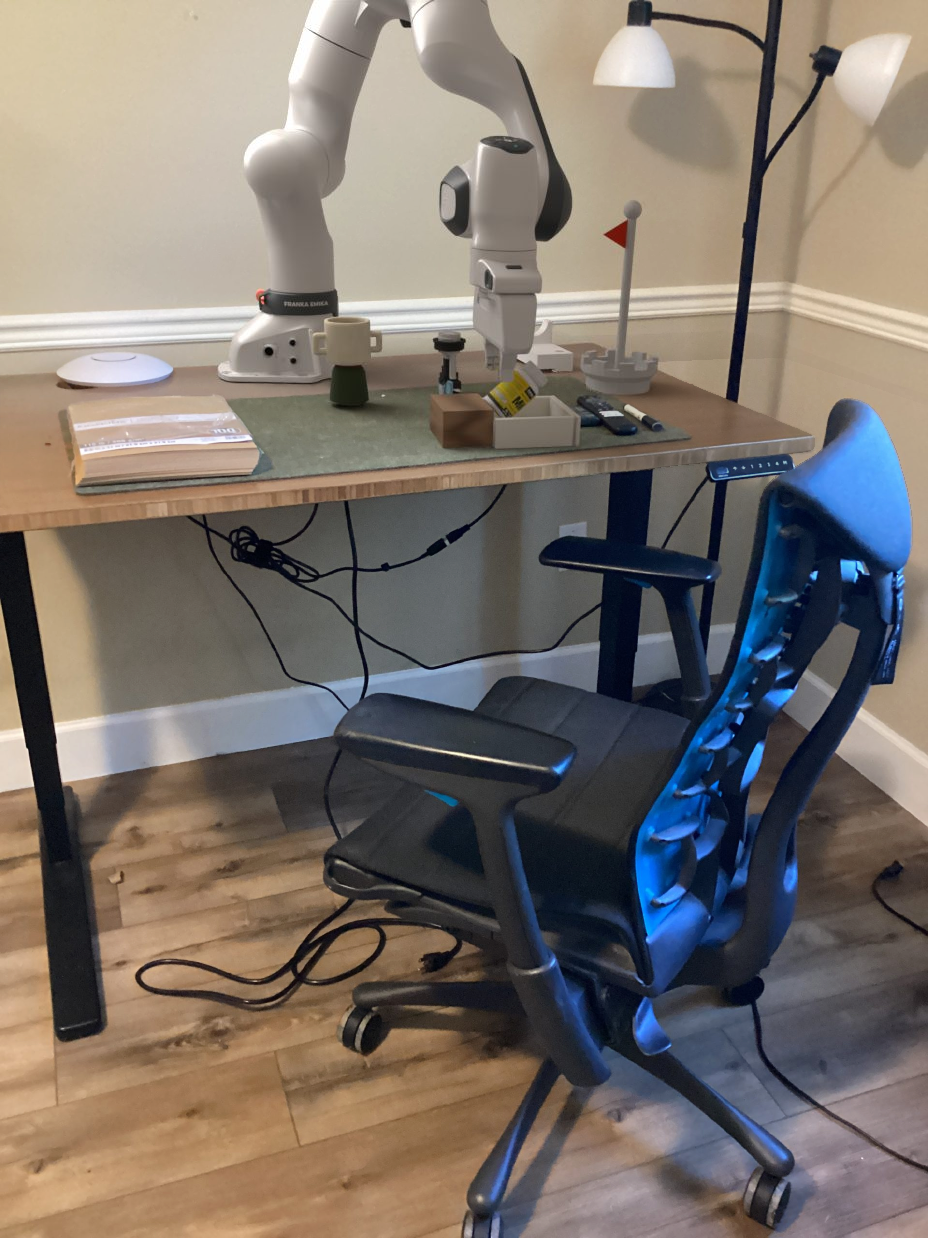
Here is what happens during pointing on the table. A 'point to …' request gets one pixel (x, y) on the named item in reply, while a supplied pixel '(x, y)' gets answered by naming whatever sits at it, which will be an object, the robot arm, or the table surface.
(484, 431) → the walnut step
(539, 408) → the grey tray
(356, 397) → the cream and green trophy
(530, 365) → the supplement bottle
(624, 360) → the flag stand
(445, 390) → the push button
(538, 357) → the bracket
